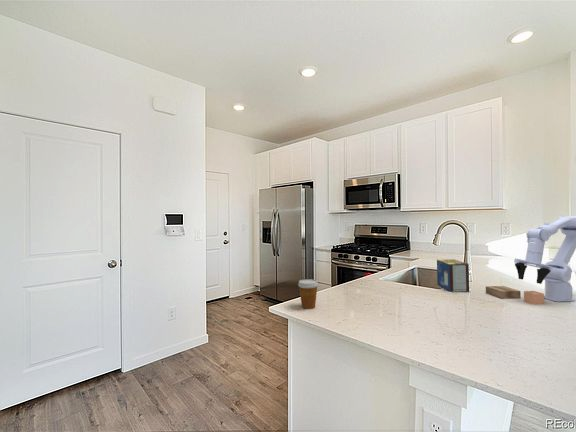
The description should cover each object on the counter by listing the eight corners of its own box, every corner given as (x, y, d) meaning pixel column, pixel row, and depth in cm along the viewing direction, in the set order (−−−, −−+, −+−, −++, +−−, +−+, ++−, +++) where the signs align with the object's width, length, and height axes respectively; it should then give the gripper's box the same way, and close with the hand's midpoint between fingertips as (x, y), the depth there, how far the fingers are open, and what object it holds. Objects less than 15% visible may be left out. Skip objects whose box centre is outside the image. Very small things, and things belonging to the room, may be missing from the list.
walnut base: (503, 293, 145) (503, 285, 145) (520, 299, 135) (520, 291, 135) (485, 293, 144) (485, 286, 144) (501, 299, 134) (500, 291, 134)
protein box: (455, 285, 162) (454, 259, 162) (469, 292, 147) (469, 263, 147) (436, 284, 163) (436, 259, 163) (449, 292, 148) (449, 263, 148)
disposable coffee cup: (295, 308, 125) (294, 282, 125) (303, 302, 134) (303, 278, 134) (314, 311, 121) (313, 284, 121) (321, 305, 129) (321, 280, 129)
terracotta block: (534, 301, 130) (533, 290, 130) (544, 304, 125) (544, 293, 125) (524, 301, 130) (523, 291, 130) (533, 304, 125) (533, 294, 125)
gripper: (523, 249, 126) (518, 278, 126) (558, 257, 124) (554, 286, 123) (513, 249, 133) (508, 276, 132) (547, 256, 130) (542, 284, 129)
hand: (529, 281), depth 128 cm, fingers open, 7 cm apart
